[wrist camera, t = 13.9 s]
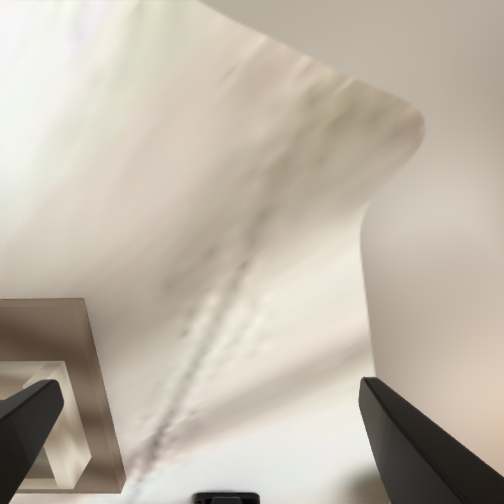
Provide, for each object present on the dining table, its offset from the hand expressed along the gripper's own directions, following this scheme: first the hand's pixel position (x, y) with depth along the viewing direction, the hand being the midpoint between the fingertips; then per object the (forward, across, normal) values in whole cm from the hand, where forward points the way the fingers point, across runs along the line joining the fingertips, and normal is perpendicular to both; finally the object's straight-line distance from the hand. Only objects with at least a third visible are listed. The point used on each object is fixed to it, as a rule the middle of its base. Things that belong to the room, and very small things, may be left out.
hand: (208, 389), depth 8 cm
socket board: (+12, +19, +13) cm, 26 cm away
